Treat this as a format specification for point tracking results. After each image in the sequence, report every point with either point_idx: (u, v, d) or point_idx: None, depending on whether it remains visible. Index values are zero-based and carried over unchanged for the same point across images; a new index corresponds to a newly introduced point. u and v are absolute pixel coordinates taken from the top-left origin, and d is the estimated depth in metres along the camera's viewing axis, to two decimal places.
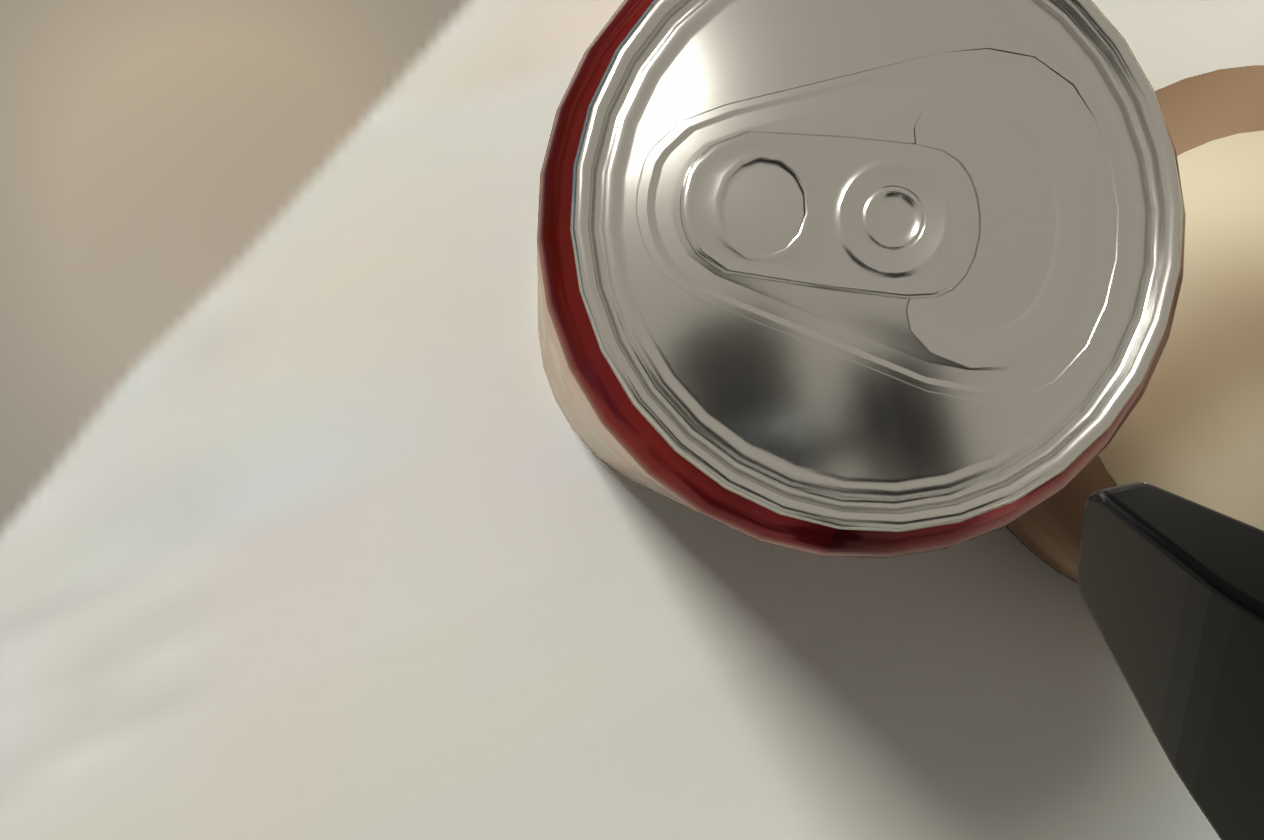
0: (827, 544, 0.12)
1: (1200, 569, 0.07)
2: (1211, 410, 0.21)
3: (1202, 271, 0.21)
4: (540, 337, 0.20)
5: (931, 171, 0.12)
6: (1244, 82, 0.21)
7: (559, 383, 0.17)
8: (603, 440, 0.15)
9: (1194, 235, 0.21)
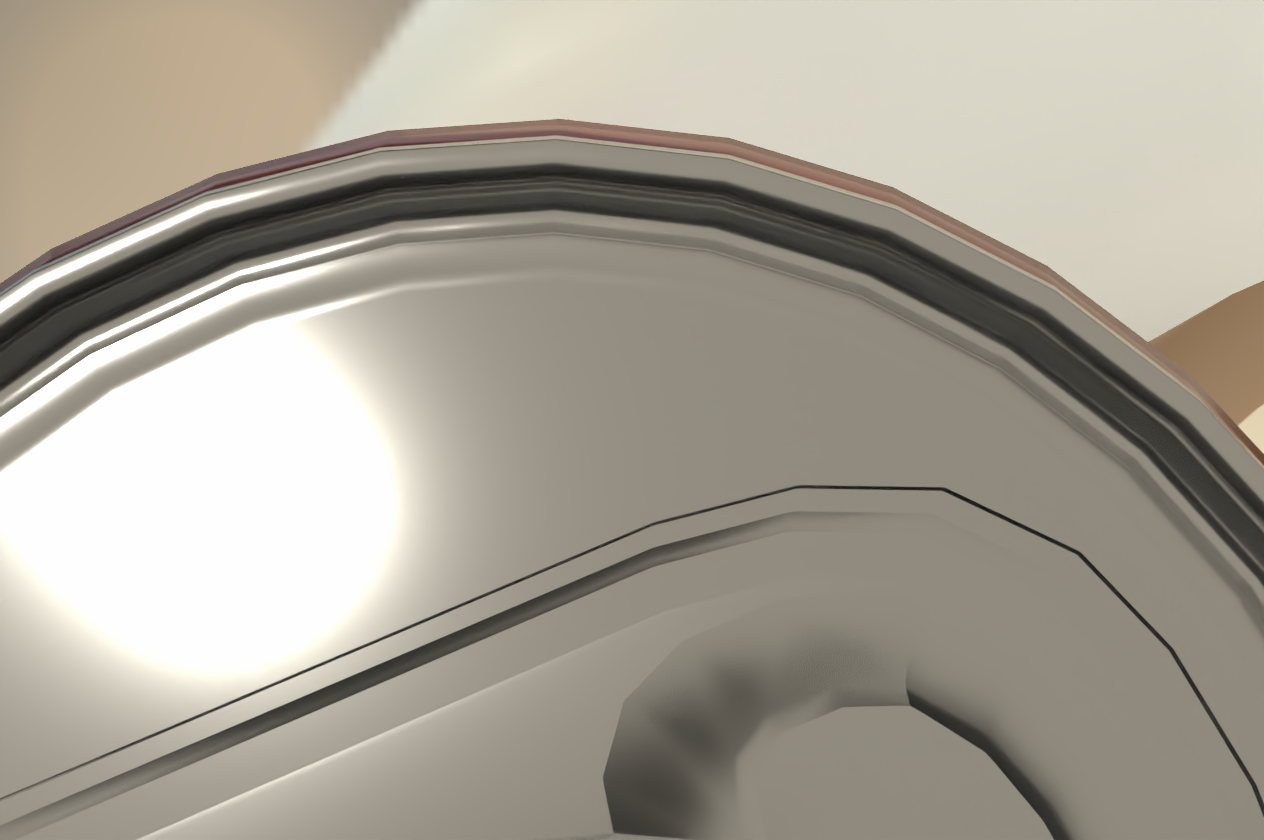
0: None
1: None
2: None
3: None
4: None
5: None
6: None
7: None
8: None
9: None
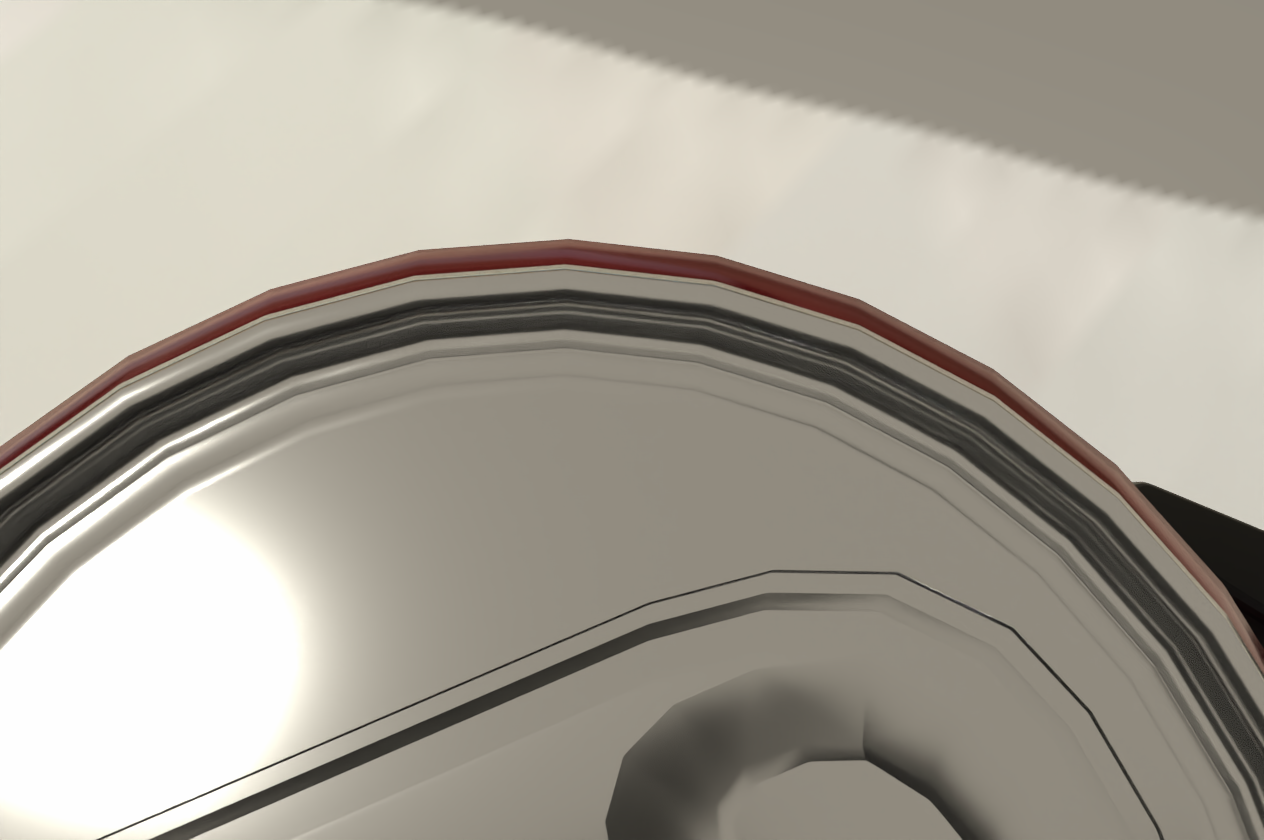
0: None
1: None
2: None
3: None
4: None
5: None
6: None
7: None
8: None
9: None
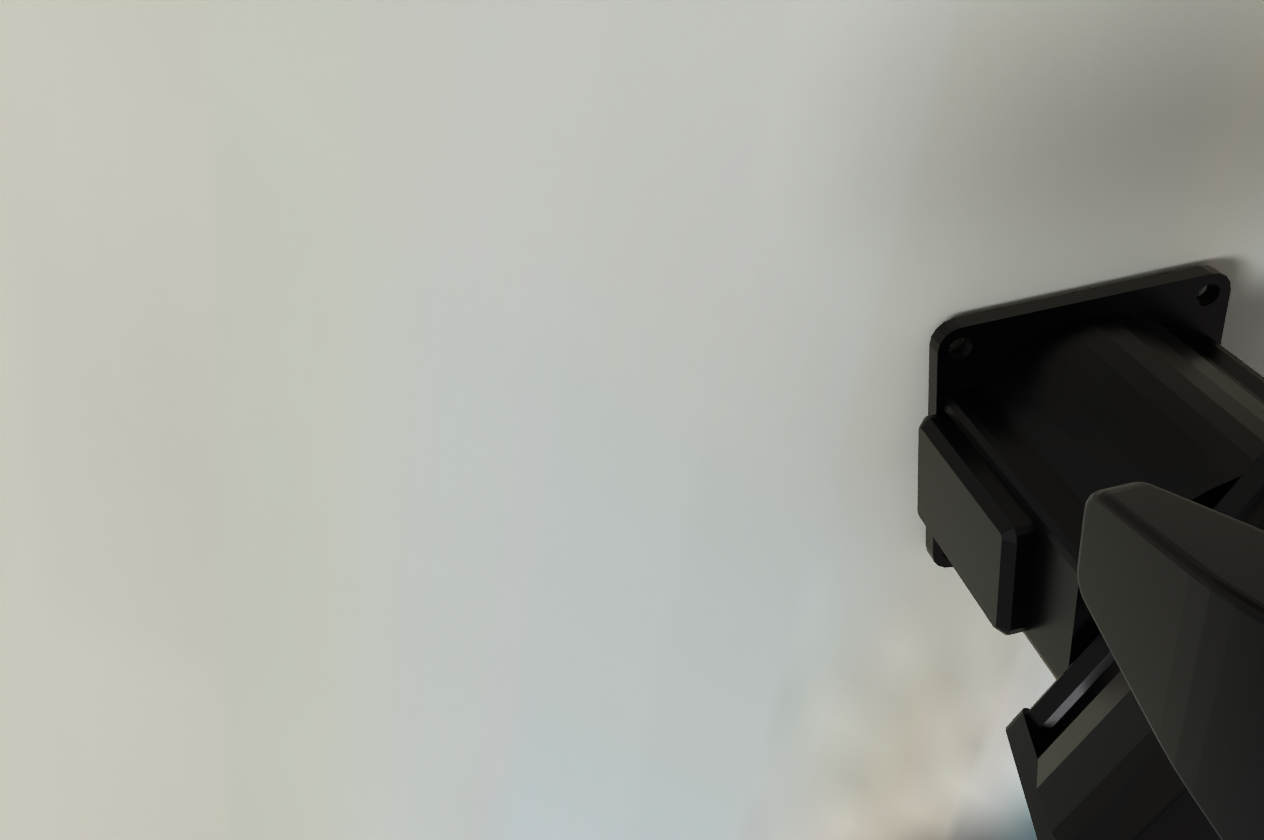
0: None
1: (1200, 568, 0.07)
2: None
3: None
4: None
5: None
6: None
7: None
8: None
9: None
